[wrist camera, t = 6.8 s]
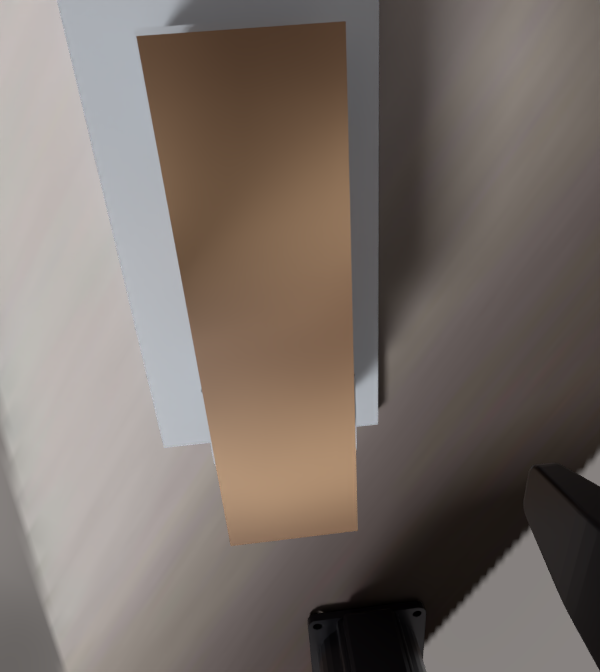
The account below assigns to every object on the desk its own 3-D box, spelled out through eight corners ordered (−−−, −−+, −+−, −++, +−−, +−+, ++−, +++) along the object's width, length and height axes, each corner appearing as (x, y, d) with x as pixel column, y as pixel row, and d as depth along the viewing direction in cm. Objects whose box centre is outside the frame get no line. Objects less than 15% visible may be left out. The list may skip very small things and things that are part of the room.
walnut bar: (335, 439, 17) (357, 530, 14) (234, 450, 17) (230, 545, 14) (317, 40, 12) (345, 20, 8) (170, 50, 12) (136, 36, 8)
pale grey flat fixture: (373, 413, 22) (397, 476, 18) (166, 436, 22) (150, 505, 18) (372, -33, 15) (412, -71, 11) (62, -13, 14) (0, -45, 11)
